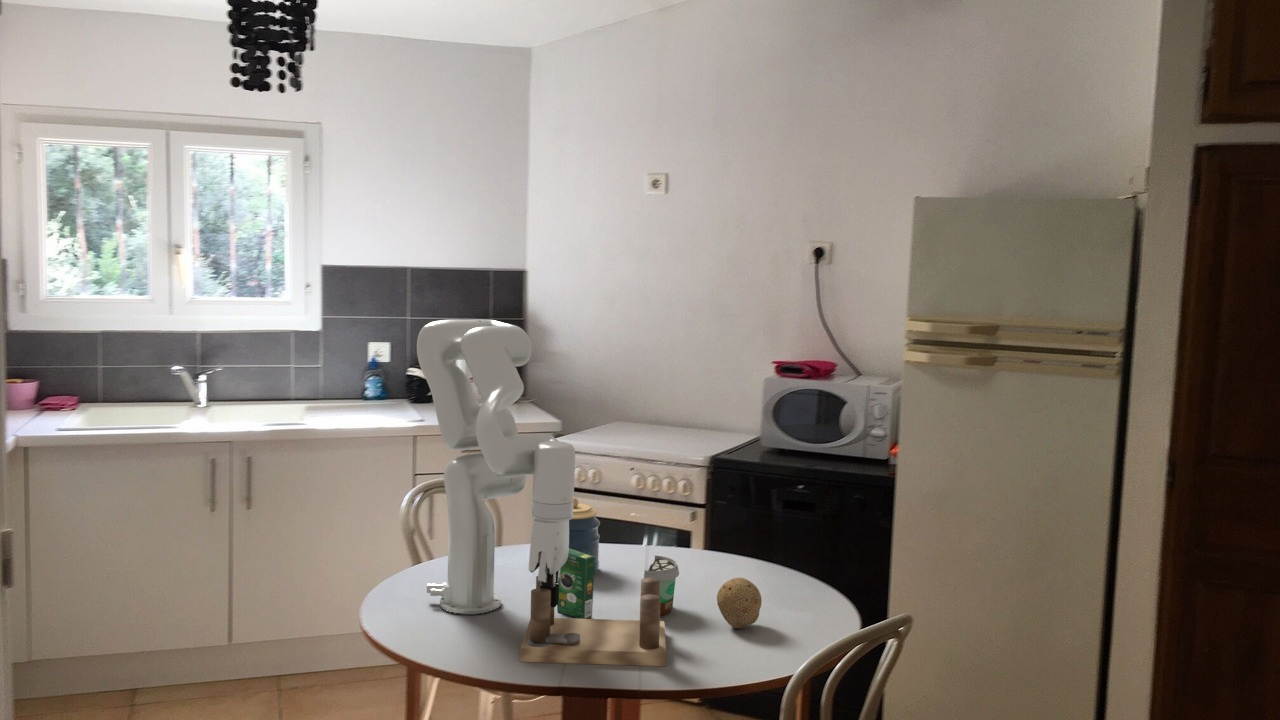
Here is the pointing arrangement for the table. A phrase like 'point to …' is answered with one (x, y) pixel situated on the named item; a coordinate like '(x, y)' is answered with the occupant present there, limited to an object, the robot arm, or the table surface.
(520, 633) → the table surface
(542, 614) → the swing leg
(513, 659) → the table surface
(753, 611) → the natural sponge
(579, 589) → the coffee box
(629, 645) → the wooden peg board
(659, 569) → the food container
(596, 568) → the canister
